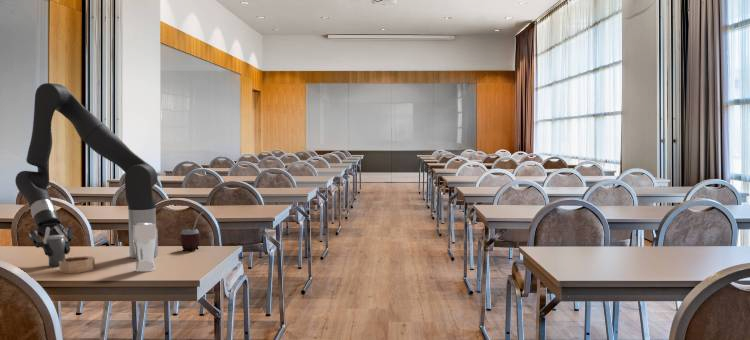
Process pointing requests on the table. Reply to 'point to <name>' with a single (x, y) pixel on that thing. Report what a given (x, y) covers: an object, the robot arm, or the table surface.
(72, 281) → the table surface
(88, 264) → the wooden polygonal ring
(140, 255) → the beer glass
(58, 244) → the plug
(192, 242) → the mate gourd
